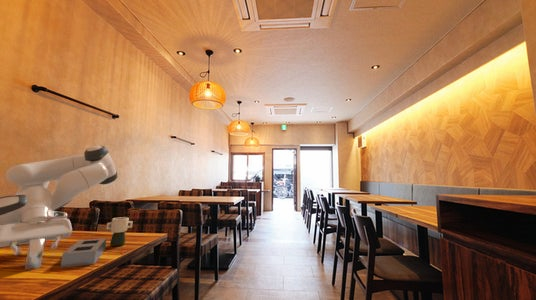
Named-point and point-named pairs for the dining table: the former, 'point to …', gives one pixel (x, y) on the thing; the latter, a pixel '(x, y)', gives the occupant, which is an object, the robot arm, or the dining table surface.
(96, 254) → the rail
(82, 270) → the dining table surface
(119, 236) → the character mug
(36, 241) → the steel pin
